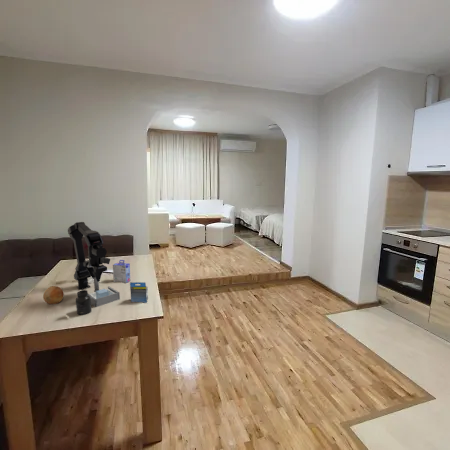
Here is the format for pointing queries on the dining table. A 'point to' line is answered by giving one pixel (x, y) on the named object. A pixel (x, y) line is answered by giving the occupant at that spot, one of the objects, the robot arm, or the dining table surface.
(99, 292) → the light blue cube
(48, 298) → the onion
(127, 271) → the ink cartridge box
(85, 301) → the supplement bottle
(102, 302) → the bay
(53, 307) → the dining table surface
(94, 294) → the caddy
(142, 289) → the label tape cartridge
